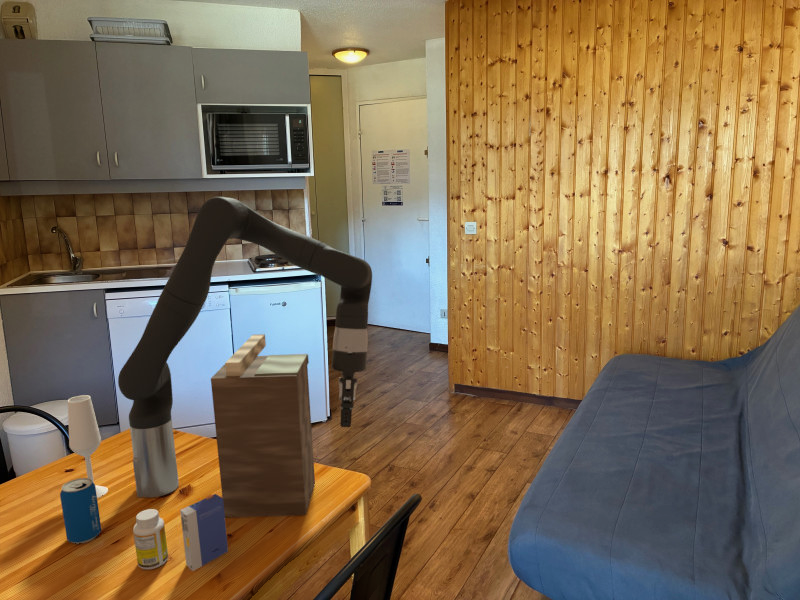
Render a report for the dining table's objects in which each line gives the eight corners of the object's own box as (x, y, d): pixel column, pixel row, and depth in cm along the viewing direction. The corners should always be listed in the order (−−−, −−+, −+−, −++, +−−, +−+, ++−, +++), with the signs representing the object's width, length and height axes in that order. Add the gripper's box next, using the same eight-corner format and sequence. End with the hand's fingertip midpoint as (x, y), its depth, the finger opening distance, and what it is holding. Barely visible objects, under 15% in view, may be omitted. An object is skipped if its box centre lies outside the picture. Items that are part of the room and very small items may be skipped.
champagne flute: (75, 503, 139) (61, 405, 134) (78, 490, 145) (64, 396, 140) (107, 496, 141) (94, 400, 137) (108, 483, 147) (95, 392, 143)
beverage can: (87, 547, 121) (79, 493, 119) (60, 544, 122) (51, 491, 120) (108, 529, 127) (101, 477, 125) (82, 527, 129) (74, 475, 126)
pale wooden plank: (253, 346, 149) (252, 334, 148) (265, 345, 149) (264, 334, 148) (226, 376, 125) (225, 362, 125) (240, 376, 125) (239, 362, 125)
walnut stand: (243, 481, 146) (231, 355, 140) (316, 479, 146) (307, 352, 140) (224, 517, 130) (210, 376, 124) (306, 515, 130) (296, 373, 124)
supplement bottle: (159, 549, 119) (153, 503, 117) (174, 560, 116) (168, 512, 114) (132, 563, 115) (126, 515, 113) (146, 575, 112) (140, 525, 110)
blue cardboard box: (220, 546, 120) (215, 492, 118) (228, 551, 118) (222, 496, 116) (184, 565, 114) (178, 508, 112) (192, 571, 112) (185, 513, 110)
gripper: (333, 344, 137) (329, 414, 137) (332, 351, 122) (327, 429, 123) (365, 346, 137) (361, 416, 137) (368, 352, 123) (363, 430, 123)
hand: (345, 422), depth 130 cm, fingers open, 8 cm apart
